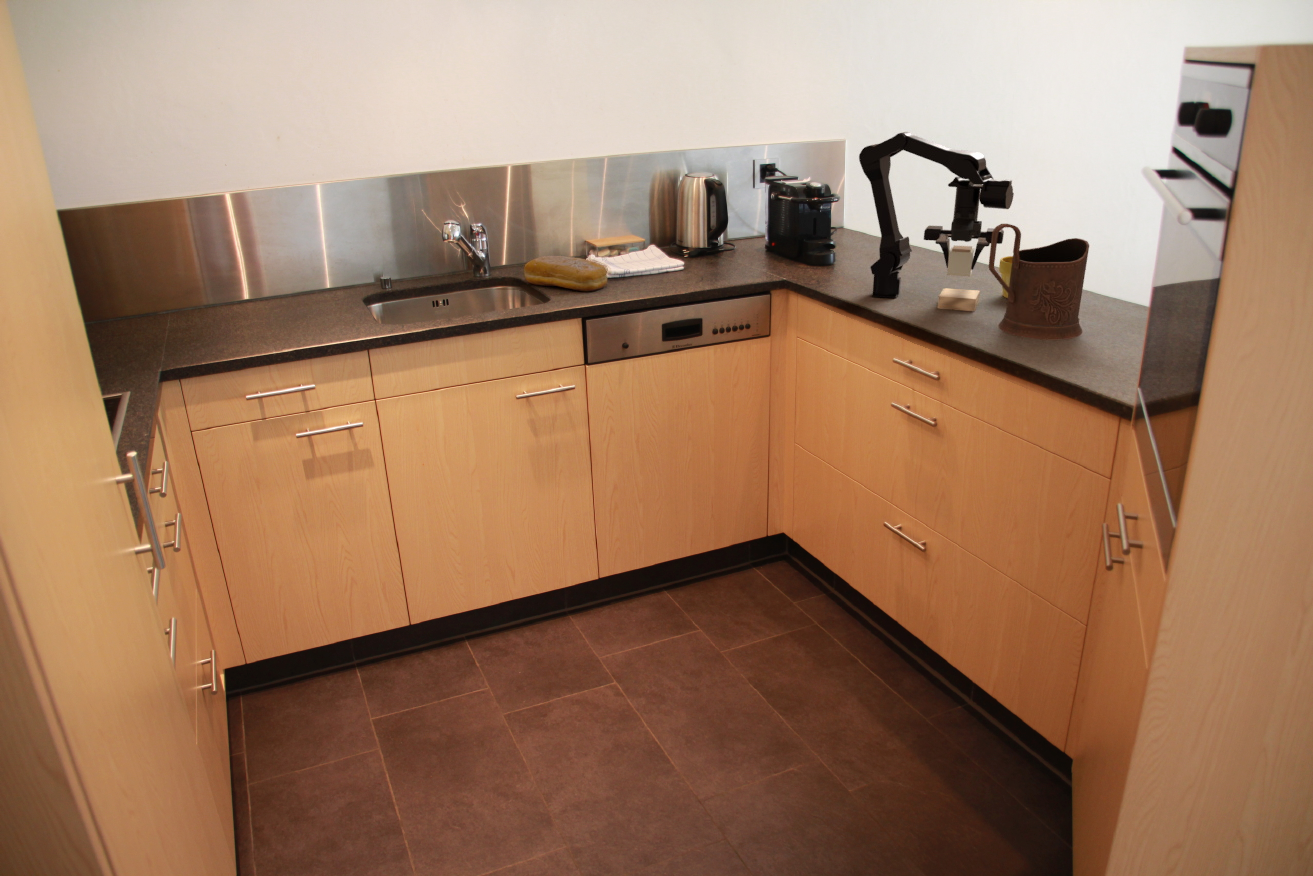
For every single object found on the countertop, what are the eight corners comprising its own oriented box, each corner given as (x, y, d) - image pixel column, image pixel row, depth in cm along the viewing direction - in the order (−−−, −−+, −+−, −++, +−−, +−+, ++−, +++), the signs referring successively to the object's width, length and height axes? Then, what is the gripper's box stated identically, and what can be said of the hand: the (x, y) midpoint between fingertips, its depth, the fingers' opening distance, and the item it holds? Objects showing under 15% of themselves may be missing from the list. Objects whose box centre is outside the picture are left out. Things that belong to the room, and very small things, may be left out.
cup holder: (1100, 335, 212) (1118, 224, 202) (1004, 344, 207) (1018, 231, 197) (1051, 315, 228) (1066, 211, 219) (962, 323, 224) (973, 218, 214)
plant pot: (1040, 302, 240) (1045, 264, 236) (998, 301, 242) (1003, 263, 238) (1033, 292, 249) (1038, 255, 245) (993, 291, 251) (997, 255, 247)
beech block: (937, 309, 237) (938, 296, 236) (942, 301, 244) (943, 288, 243) (974, 312, 233) (975, 299, 232) (978, 303, 241) (979, 290, 240)
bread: (543, 276, 282) (541, 250, 279) (617, 285, 270) (616, 257, 267) (516, 286, 271) (514, 259, 268) (591, 295, 259) (590, 267, 256)
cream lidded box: (946, 275, 235) (949, 249, 232) (949, 270, 240) (951, 244, 237) (970, 276, 233) (973, 250, 230) (971, 271, 238) (974, 245, 235)
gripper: (923, 209, 226) (918, 273, 232) (1004, 212, 220) (996, 278, 226) (929, 202, 236) (923, 263, 242) (1007, 205, 229) (999, 268, 235)
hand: (960, 268), depth 236 cm, fingers closed on cream lidded box, 6 cm apart
